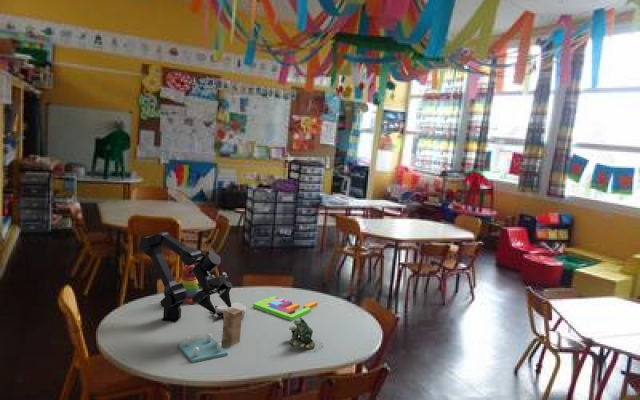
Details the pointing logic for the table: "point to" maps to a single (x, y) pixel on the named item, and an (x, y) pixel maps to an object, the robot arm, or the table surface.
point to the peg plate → (202, 349)
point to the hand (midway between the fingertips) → (223, 310)
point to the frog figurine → (302, 335)
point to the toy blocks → (283, 308)
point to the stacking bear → (189, 284)
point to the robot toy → (221, 309)
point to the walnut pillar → (232, 326)
